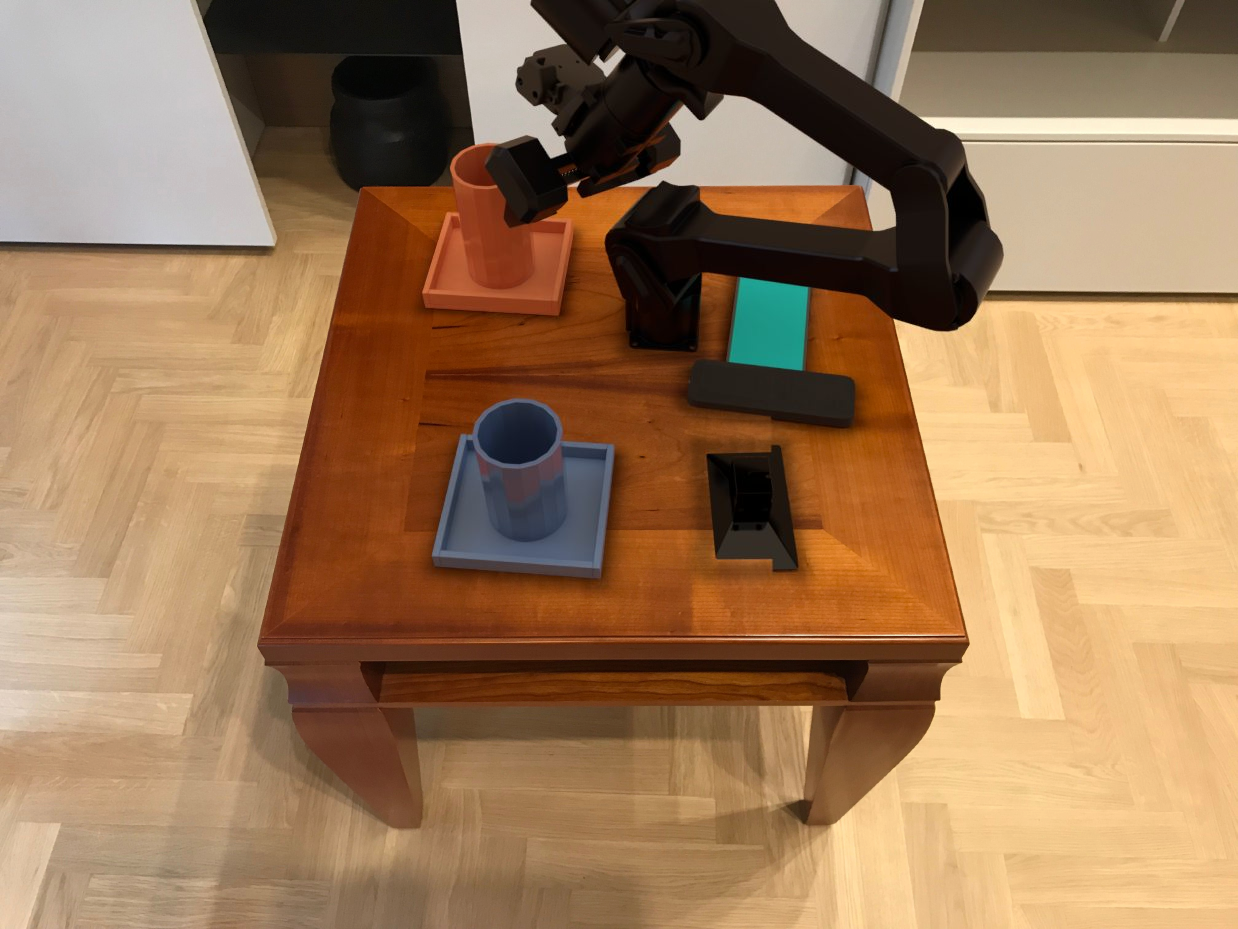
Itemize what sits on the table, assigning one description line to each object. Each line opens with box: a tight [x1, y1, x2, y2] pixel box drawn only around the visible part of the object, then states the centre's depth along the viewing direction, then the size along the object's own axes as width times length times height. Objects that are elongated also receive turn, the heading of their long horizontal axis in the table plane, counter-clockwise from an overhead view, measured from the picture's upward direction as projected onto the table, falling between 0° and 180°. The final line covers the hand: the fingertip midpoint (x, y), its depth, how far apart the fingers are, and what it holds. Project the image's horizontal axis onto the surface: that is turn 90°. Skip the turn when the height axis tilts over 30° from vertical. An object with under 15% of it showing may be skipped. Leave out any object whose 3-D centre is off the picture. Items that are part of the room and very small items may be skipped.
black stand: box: [705, 444, 800, 572], centre depth 77 cm, size 12×7×5 cm, turn 1°
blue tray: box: [431, 433, 616, 580], centre depth 77 cm, size 13×12×2 cm
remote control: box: [686, 358, 856, 428], centre depth 85 cm, size 5×2×15 cm
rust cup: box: [449, 142, 535, 289], centre depth 91 cm, size 7×7×12 cm
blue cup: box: [471, 397, 569, 542], centre depth 74 cm, size 7×7×10 cm
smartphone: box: [725, 277, 813, 371], centre depth 90 cm, size 7×1×15 cm
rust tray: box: [421, 211, 574, 317], centre depth 95 cm, size 13×12×2 cm
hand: (545, 207), depth 86 cm, fingers open, 9 cm apart
